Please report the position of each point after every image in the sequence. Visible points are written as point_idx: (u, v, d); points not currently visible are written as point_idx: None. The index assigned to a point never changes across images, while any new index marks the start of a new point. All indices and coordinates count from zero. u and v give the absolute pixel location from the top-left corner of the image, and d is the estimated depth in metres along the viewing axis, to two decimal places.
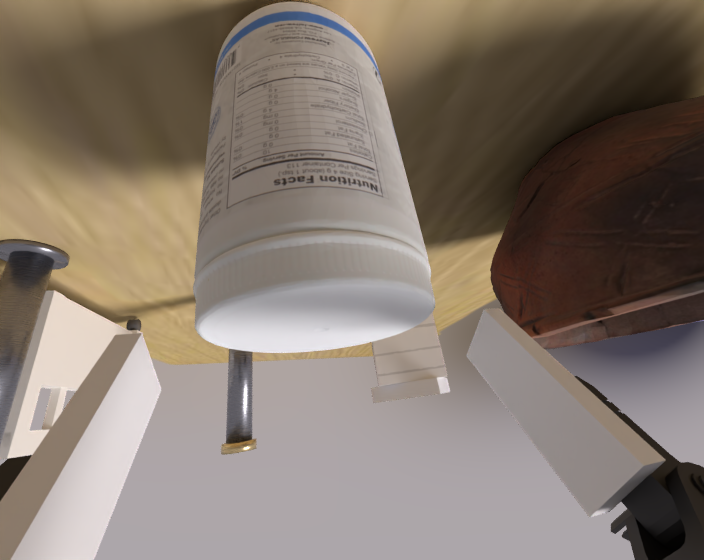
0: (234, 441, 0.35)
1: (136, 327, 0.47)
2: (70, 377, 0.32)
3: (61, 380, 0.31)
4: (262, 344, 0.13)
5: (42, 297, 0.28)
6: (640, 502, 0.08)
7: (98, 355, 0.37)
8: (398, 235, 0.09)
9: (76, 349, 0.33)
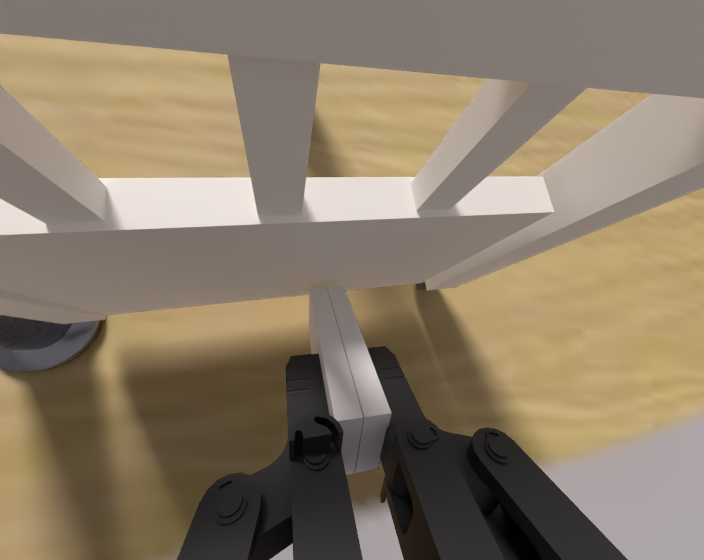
0: None
1: None
2: None
3: None
4: None
5: None
6: (385, 455, 0.08)
7: None
8: None
9: None
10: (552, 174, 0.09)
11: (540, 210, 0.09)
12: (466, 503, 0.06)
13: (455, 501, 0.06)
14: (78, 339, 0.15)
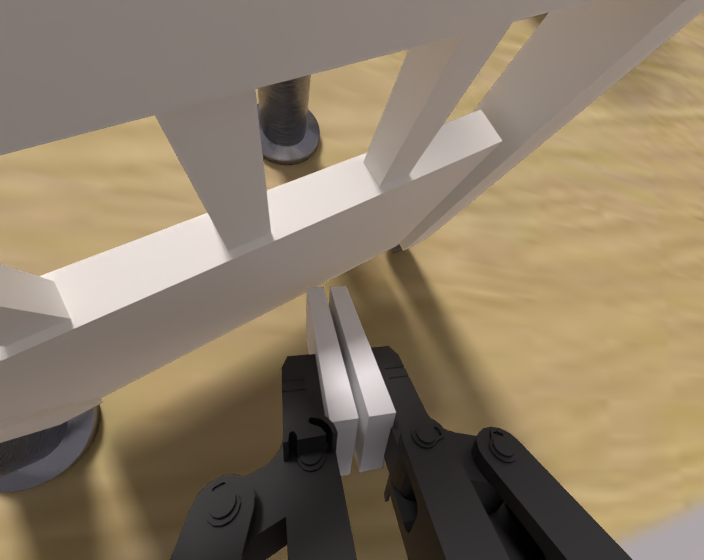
0: None
1: None
2: None
3: None
4: None
5: None
6: (389, 455, 0.08)
7: None
8: None
9: None
10: (488, 104, 0.09)
11: (489, 144, 0.09)
12: (471, 502, 0.06)
13: (460, 500, 0.06)
14: (72, 450, 0.14)
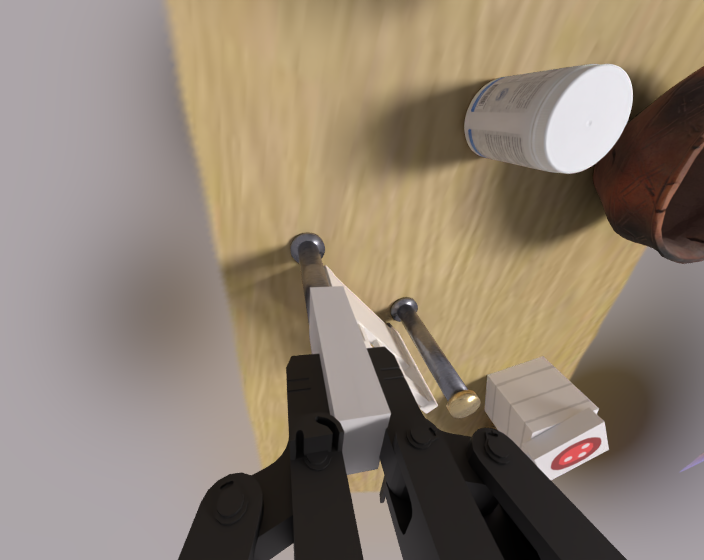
0: (461, 392, 0.37)
1: (391, 327, 0.53)
2: (361, 320, 0.39)
3: (356, 317, 0.38)
4: (559, 142, 0.28)
5: None
6: (384, 455, 0.08)
7: (373, 322, 0.44)
8: None
9: (356, 307, 0.41)
10: (412, 367, 0.44)
11: (402, 369, 0.44)
12: (465, 503, 0.06)
13: (454, 501, 0.06)
14: (299, 261, 0.44)
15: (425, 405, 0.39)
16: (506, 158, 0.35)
